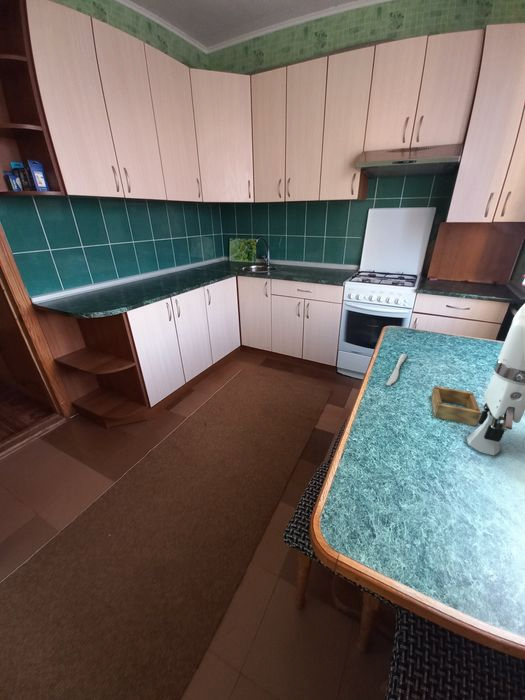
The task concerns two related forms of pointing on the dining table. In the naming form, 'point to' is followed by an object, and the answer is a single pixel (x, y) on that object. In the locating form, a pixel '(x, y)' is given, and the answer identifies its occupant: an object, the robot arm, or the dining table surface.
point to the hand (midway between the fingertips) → (488, 431)
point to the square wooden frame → (452, 412)
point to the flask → (480, 442)
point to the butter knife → (396, 370)
